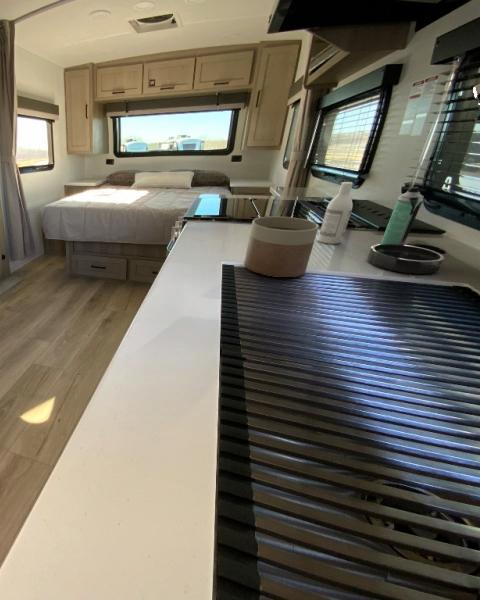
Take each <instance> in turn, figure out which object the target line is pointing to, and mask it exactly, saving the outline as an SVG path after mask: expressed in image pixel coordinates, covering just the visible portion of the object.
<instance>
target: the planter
mask: <svg viewBox="0 0 480 600" xmlns="http://www.w3.org/2000/svg"><path fill="white" fill-rule="evenodd" d="M318 230H319V224H318V223H316V222H314V221H312V220H309V219H305V218H298V217H293V216H277V215H275V216H273V215H271V216H262V217H256V218H254V219H253V220H252V222H251V227H250V231H249V236H248V242H247V247H246V251H245V258H244V261H243V262H244V263H243V265H244V267H245V268H246V269H247V270H249V271H250V270H251V271H250V272H252V271H253V273H255V272H256V273H255V274H257V273H260V274H265V275H270V276H277V277H293V278H298V277H301V276H303V275H304V274H306V271H307V268H308V264H309V260H310V259H311V254H312V251H313V247H314V244H315V241H316V237H317V233H318ZM260 274H259V275H260Z"/></svg>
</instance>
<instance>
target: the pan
mask: <svg viewBox="0 0 480 600" xmlns="http://www.w3.org/2000/svg"><path fill="white" fill-rule="evenodd" d="M366 259H367V261H368V262H369V263H371V264H372V265H375V266H377V267H379V266H380V267H379V268H381V267H382V269H384V268H385V269H384V270H388V269H389V270H388V271H392V270H393V272H397V271H398V272H397V273H402V272H403V273H404V274H411V273H414V274H415V275H423V274H425V275H426V274H434V273H436V272H439V270H440V268H441V266H442V264H443V262H444V260H445V256H444V255H443V254H441V253H440V252H437V251H435V250H431V249H428V248H424V247H419V246H415V245H408V244H404V245H400V244H381V243H379V244H374V245H372V246H371V247H370V250H369V252H368V255H367V258H366ZM403 273H402V274H403Z"/></svg>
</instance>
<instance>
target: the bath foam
mask: <svg viewBox="0 0 480 600" xmlns="http://www.w3.org/2000/svg"><path fill="white" fill-rule="evenodd" d="M353 184H354V183H353V182H352V181H351V182H350V181H342V182H341V184H340V187H339V191H338V194H336V195H335V196H334V197H333V198H332V199H331V200H330V201H329V203H328V204H327V206H326V209H325V213H324V216H323V219H322V223H321V226H320V230H319V232H318V236H317V240H318V242H320V243H323V244H327V245H328V244H329V245H338V244H341V243H342V241H343V238H344V235H345V232H346V230H347V226H348V224H349V220H350V217H351V214H352V211H353V205H354V203H353V200H352V197H351V194H350V193H351V190H352V188H353Z"/></svg>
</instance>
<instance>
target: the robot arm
mask: <svg viewBox="0 0 480 600" xmlns="http://www.w3.org/2000/svg"><path fill="white" fill-rule="evenodd" d="M472 89H473V95H474V99H475V101H476V102H477V103H478V106H480V83H478V84H476V85H474V86H473V88H472ZM474 121H475V123H474V124H479V125H480V107H479V108H478V110H477V113H476V115H475V117H474Z"/></svg>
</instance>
